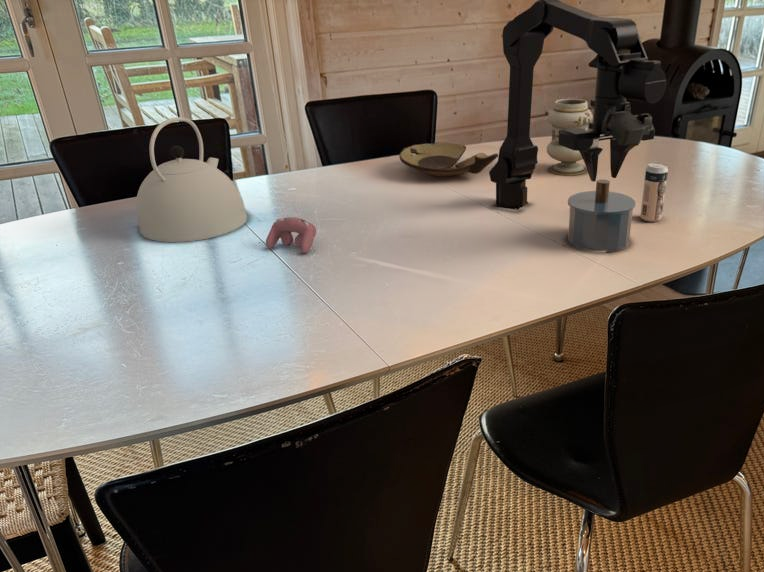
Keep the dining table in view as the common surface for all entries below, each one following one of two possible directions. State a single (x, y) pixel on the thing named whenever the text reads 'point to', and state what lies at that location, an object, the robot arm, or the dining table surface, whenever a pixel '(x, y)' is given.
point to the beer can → (654, 192)
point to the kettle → (187, 197)
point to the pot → (599, 230)
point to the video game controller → (283, 231)
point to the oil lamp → (443, 159)
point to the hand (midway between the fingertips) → (603, 179)
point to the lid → (601, 201)
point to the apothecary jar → (567, 117)
